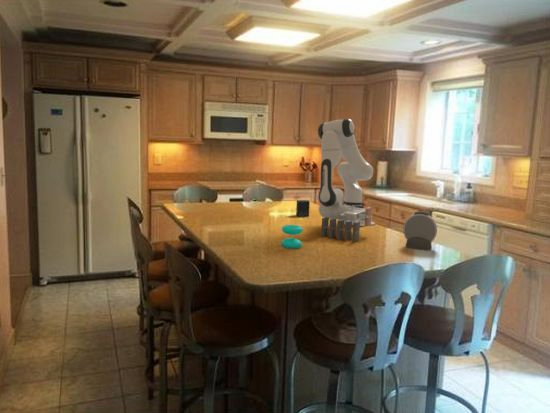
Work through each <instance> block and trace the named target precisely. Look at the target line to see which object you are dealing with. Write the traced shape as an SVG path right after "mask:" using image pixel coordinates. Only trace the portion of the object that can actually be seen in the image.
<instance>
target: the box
mask: <svg viewBox="0 0 550 413" xmlns="http://www.w3.org/2000/svg"><path fill="white" fill-rule="evenodd" d="M295 215H296V217H309V216H310V200H308V199H305V200H304V199H303V200H302V199H301V200H300V199H297V200H296V208H295Z"/></svg>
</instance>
